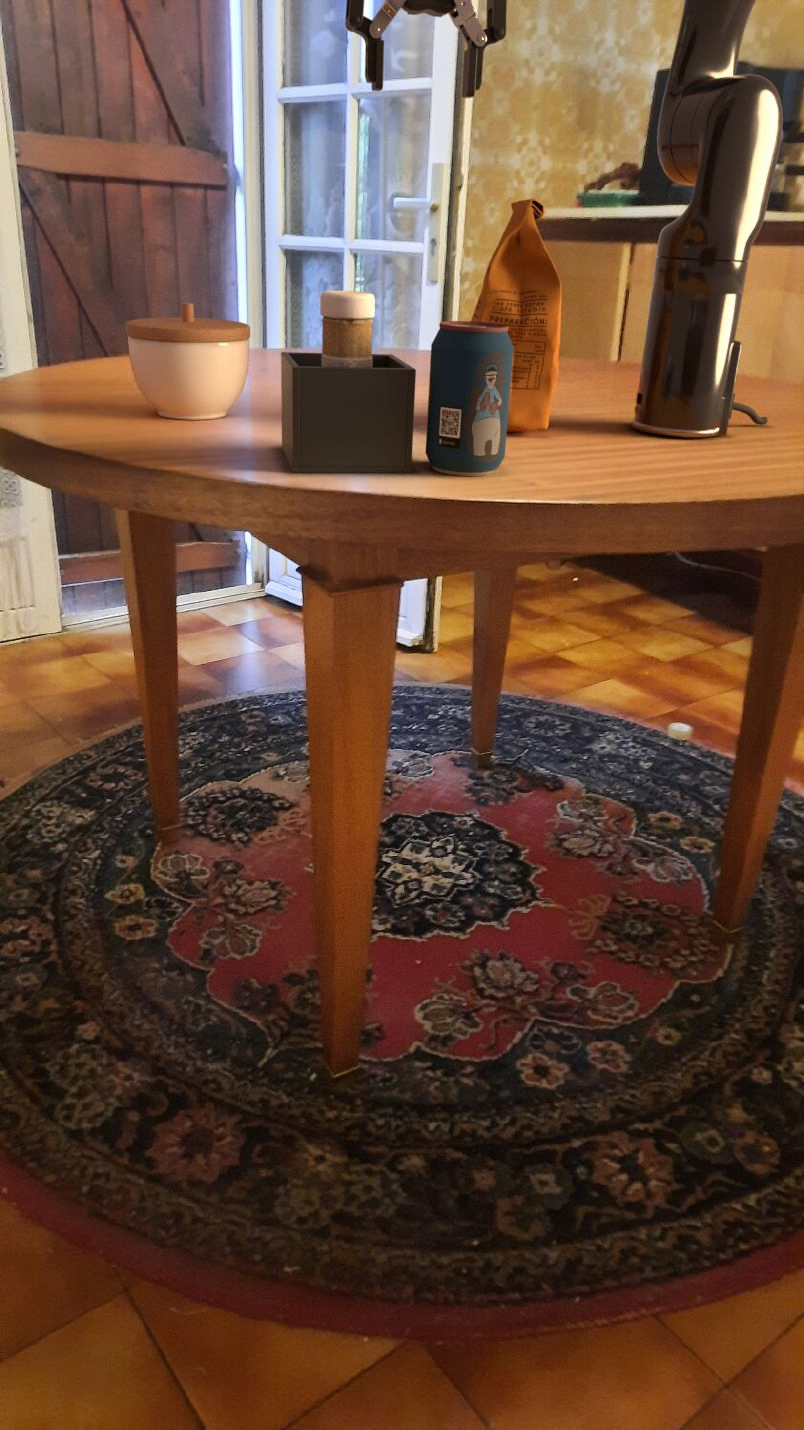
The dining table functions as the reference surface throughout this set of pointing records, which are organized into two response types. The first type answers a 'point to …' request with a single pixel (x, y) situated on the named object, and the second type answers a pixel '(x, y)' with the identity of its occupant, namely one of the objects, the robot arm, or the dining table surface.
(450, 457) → the soda can
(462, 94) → the robot arm
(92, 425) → the dining table surface
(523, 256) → the coffee package
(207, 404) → the lidded bowl
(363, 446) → the storage bin
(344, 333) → the sprinkles bottle
